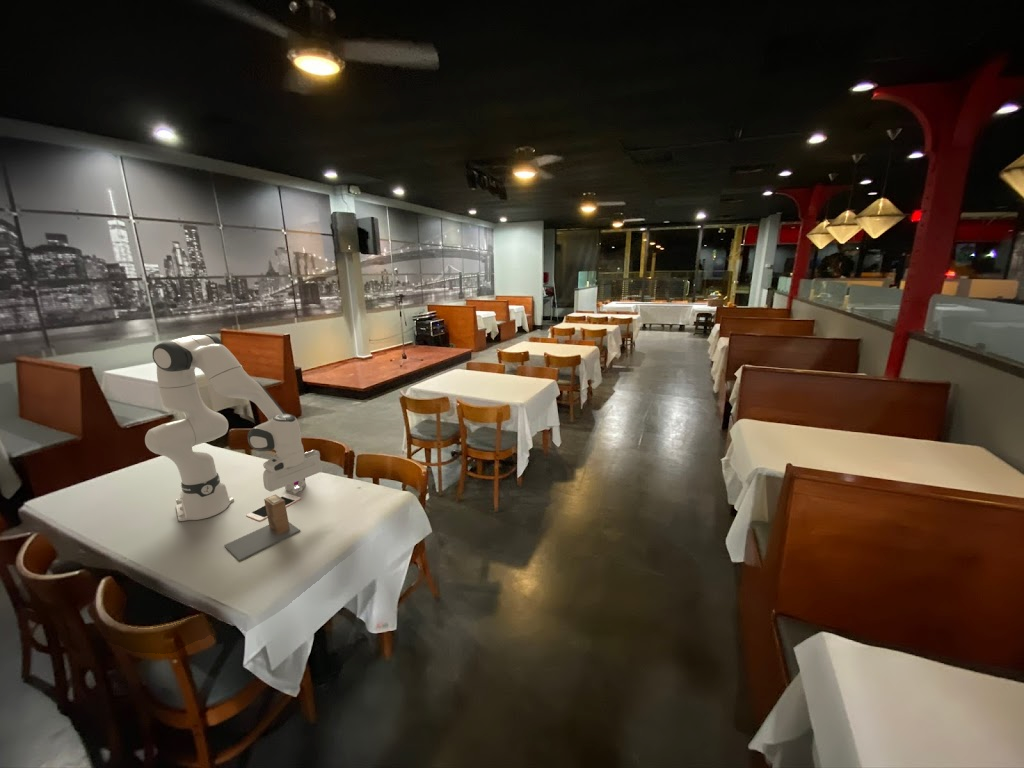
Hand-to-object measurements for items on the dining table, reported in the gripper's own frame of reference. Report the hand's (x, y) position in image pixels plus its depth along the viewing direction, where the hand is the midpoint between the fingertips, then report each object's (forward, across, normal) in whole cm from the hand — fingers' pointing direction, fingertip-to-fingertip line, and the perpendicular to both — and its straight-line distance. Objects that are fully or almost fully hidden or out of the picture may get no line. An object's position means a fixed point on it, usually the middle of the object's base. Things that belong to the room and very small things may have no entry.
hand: (297, 491), depth 155 cm
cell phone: (+12, +2, -19) cm, 23 cm away
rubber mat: (+12, +14, 0) cm, 19 cm away
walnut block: (+12, +8, -1) cm, 14 cm away
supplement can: (+12, -11, -28) cm, 32 cm away
